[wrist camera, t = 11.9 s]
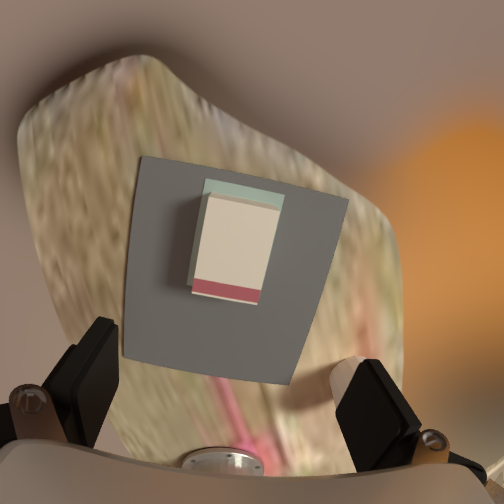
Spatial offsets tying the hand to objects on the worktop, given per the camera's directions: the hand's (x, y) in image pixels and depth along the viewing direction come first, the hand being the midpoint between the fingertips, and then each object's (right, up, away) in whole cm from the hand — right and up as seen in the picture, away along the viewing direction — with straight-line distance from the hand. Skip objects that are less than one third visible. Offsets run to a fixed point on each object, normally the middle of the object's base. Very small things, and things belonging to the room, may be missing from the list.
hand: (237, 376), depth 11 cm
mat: (-2, +1, +19) cm, 19 cm away
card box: (-1, +5, +17) cm, 18 cm away
